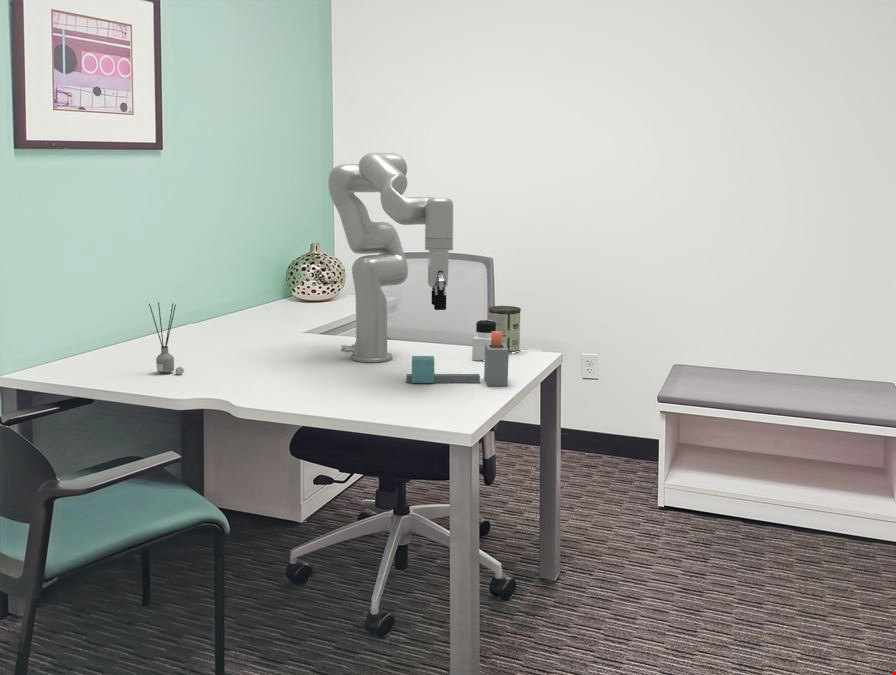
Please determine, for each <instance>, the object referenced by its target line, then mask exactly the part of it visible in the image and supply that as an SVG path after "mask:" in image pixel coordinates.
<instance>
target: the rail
mask: <svg viewBox="0 0 896 675" xmlns="http://www.w3.org/2000/svg"><path fill="white" fill-rule="evenodd" d="M405 378H406V381H405V382H406V384H413V383H412V373H406V377H405ZM480 382H481V375H480V373H434V383H433V384H480Z"/></svg>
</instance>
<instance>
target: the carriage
mask: <svg viewBox="0 0 896 675" xmlns="http://www.w3.org/2000/svg"><path fill="white" fill-rule="evenodd" d="M411 374H412V383H411V384H435V383H434V374H435V356H434V355H412V356H411Z"/></svg>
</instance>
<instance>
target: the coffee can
mask: <svg viewBox="0 0 896 675" xmlns="http://www.w3.org/2000/svg"><path fill="white" fill-rule="evenodd" d="M521 310H522V309H521V307H518V306H514V305H513V306H512V305H494V306H493V305H492V306H490V307H488V320H492V321H494V322H495V323H496V331H501V332H502V343H505V345H506V346H507V348H508V350H509V353H508V355H511V354H510V353H512V352H517V351H519V352H520V340H521V339H520V336H521V335H520V334H521V333H520V331H521V330H520V329H521V328H520V327H521Z"/></svg>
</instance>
